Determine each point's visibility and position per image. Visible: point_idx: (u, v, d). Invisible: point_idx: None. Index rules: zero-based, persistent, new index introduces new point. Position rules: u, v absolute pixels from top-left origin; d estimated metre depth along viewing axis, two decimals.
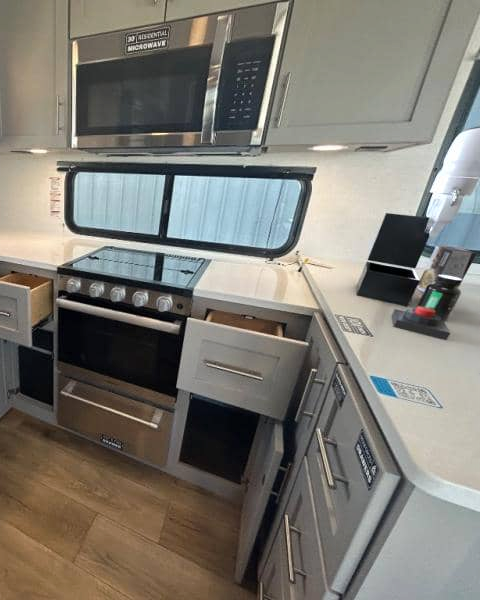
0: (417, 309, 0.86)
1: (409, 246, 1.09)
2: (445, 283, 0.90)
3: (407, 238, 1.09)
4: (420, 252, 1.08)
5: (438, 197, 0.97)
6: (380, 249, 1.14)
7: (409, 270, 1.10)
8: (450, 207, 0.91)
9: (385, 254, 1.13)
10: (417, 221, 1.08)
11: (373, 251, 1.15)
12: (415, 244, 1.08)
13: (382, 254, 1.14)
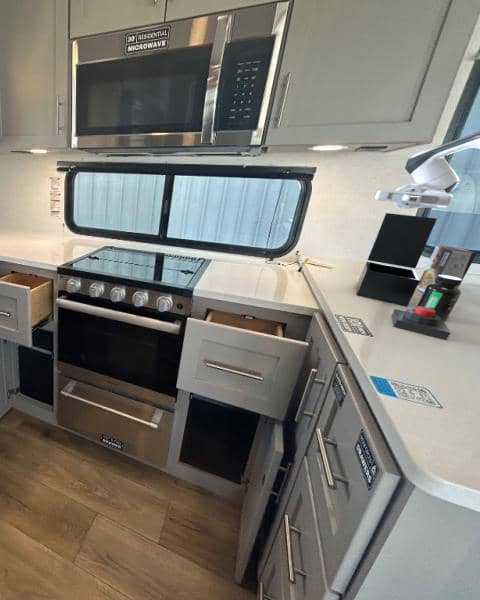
0: (417, 309, 0.86)
1: (409, 246, 1.09)
2: (445, 283, 0.90)
3: (407, 238, 1.09)
4: (420, 252, 1.08)
5: (400, 202, 1.25)
6: (380, 249, 1.14)
7: (409, 270, 1.10)
8: None
9: (385, 254, 1.13)
10: (417, 221, 1.08)
11: (373, 251, 1.15)
12: (415, 244, 1.08)
13: (382, 254, 1.14)
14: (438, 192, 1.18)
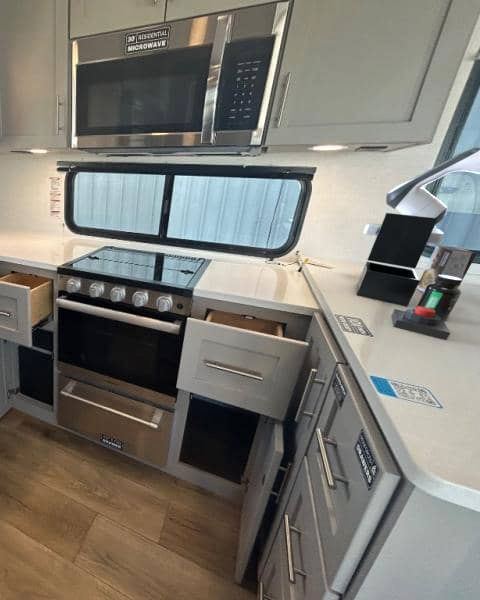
0: (417, 309, 0.86)
1: (409, 246, 1.09)
2: (445, 283, 0.90)
3: (408, 238, 1.09)
4: (420, 252, 1.08)
5: None
6: (380, 249, 1.14)
7: (409, 270, 1.10)
8: None
9: (385, 254, 1.13)
10: (418, 221, 1.07)
11: (373, 251, 1.15)
12: (415, 244, 1.08)
13: (382, 254, 1.13)
14: None
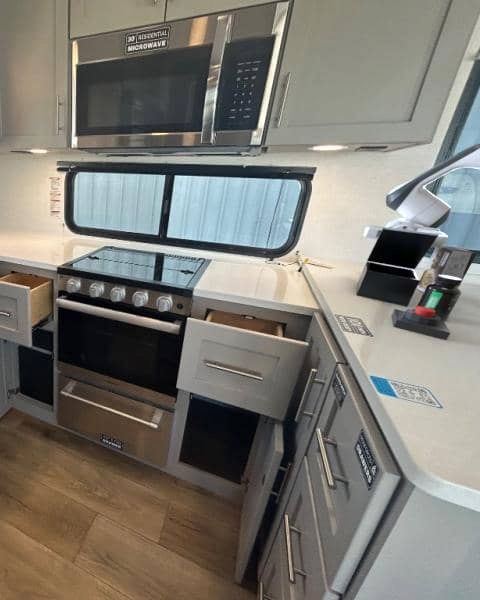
0: (417, 309, 0.86)
1: (408, 254, 1.06)
2: (445, 283, 0.90)
3: (406, 248, 1.05)
4: (419, 259, 1.05)
5: None
6: (379, 254, 1.12)
7: (409, 270, 1.10)
8: None
9: (384, 258, 1.12)
10: (416, 237, 1.00)
11: (372, 255, 1.13)
12: (414, 253, 1.05)
13: (381, 258, 1.12)
14: (432, 231, 1.07)
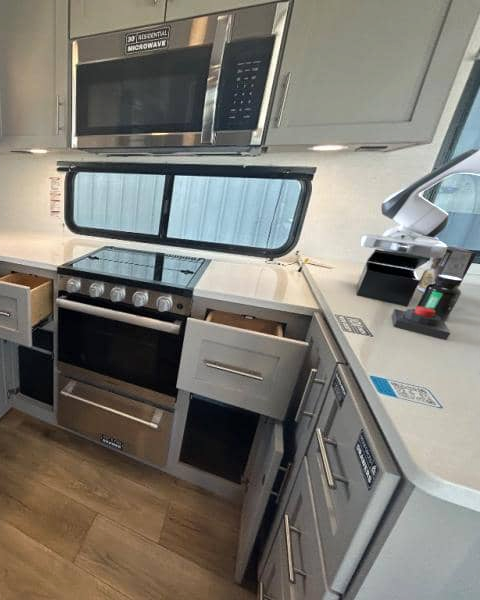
0: (417, 309, 0.86)
1: (405, 263, 1.06)
2: (445, 283, 0.90)
3: (402, 261, 1.05)
4: (417, 266, 1.05)
5: None
6: (377, 260, 1.12)
7: (409, 270, 1.10)
8: None
9: (383, 262, 1.12)
10: (409, 258, 1.00)
11: (370, 259, 1.13)
12: (410, 264, 1.05)
13: (380, 261, 1.12)
14: (431, 240, 1.05)
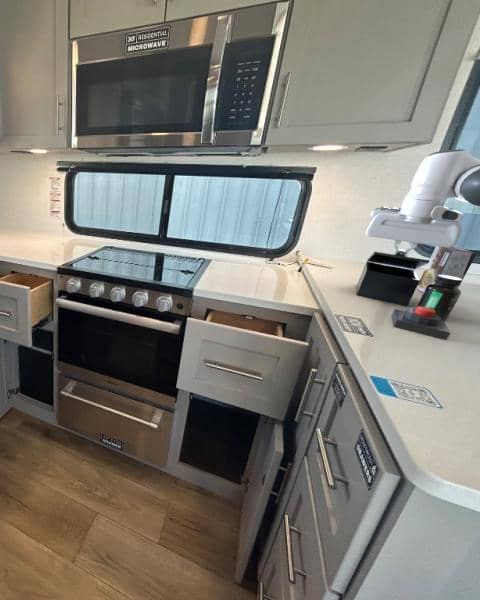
0: (417, 309, 0.86)
1: (404, 264, 1.06)
2: (445, 283, 0.90)
3: (401, 262, 1.05)
4: (416, 267, 1.05)
5: None
6: (376, 261, 1.12)
7: (409, 270, 1.10)
8: None
9: (382, 262, 1.12)
10: (408, 260, 1.00)
11: (370, 260, 1.13)
12: (410, 265, 1.05)
13: (380, 262, 1.12)
14: (449, 225, 0.92)
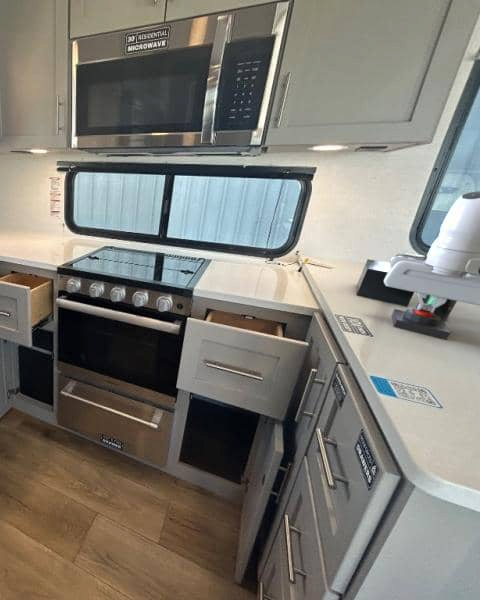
0: (416, 311, 0.87)
1: None
2: None
3: None
4: None
5: None
6: None
7: None
8: (390, 269, 0.88)
9: None
10: None
11: None
12: None
13: None
14: None
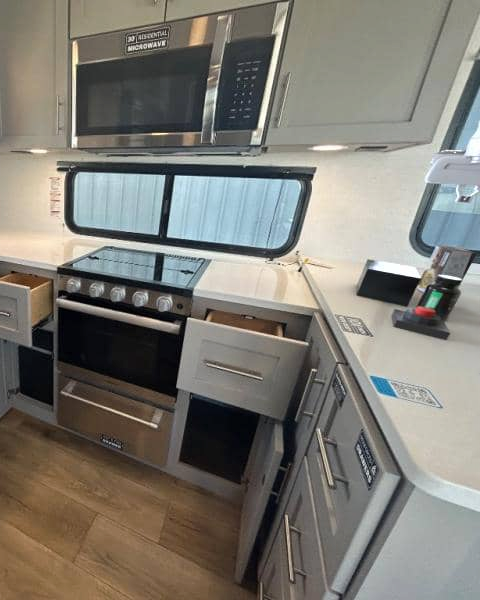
0: (417, 309, 0.86)
1: None
2: (445, 283, 0.90)
3: None
4: None
5: None
6: None
7: None
8: (431, 167, 0.99)
9: None
10: None
11: None
12: None
13: None
14: None
